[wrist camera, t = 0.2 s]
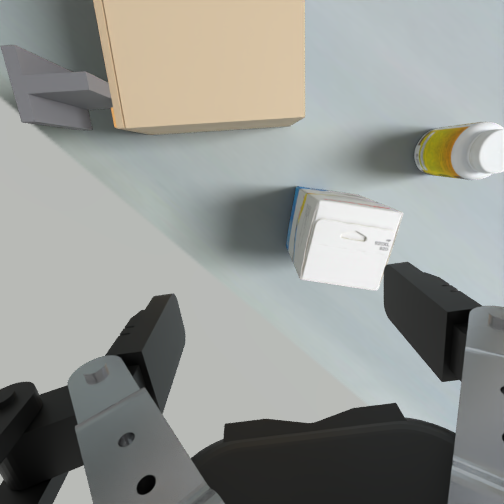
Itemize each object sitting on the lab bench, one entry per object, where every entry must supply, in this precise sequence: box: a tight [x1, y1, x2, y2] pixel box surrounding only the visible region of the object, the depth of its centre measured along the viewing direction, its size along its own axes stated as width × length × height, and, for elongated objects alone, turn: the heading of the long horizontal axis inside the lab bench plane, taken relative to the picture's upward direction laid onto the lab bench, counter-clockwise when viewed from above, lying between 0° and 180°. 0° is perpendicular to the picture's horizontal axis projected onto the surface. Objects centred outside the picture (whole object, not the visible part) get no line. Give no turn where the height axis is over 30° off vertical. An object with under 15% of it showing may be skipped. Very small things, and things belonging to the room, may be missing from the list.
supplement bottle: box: [414, 122, 504, 180], centre depth 33 cm, size 6×6×10 cm
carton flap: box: [1, 0, 156, 135], centre depth 26 cm, size 20×6×14 cm, turn 3°
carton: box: [103, 0, 305, 135], centre depth 28 cm, size 20×16×10 cm
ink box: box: [286, 186, 403, 291], centre depth 34 cm, size 9×8×12 cm
